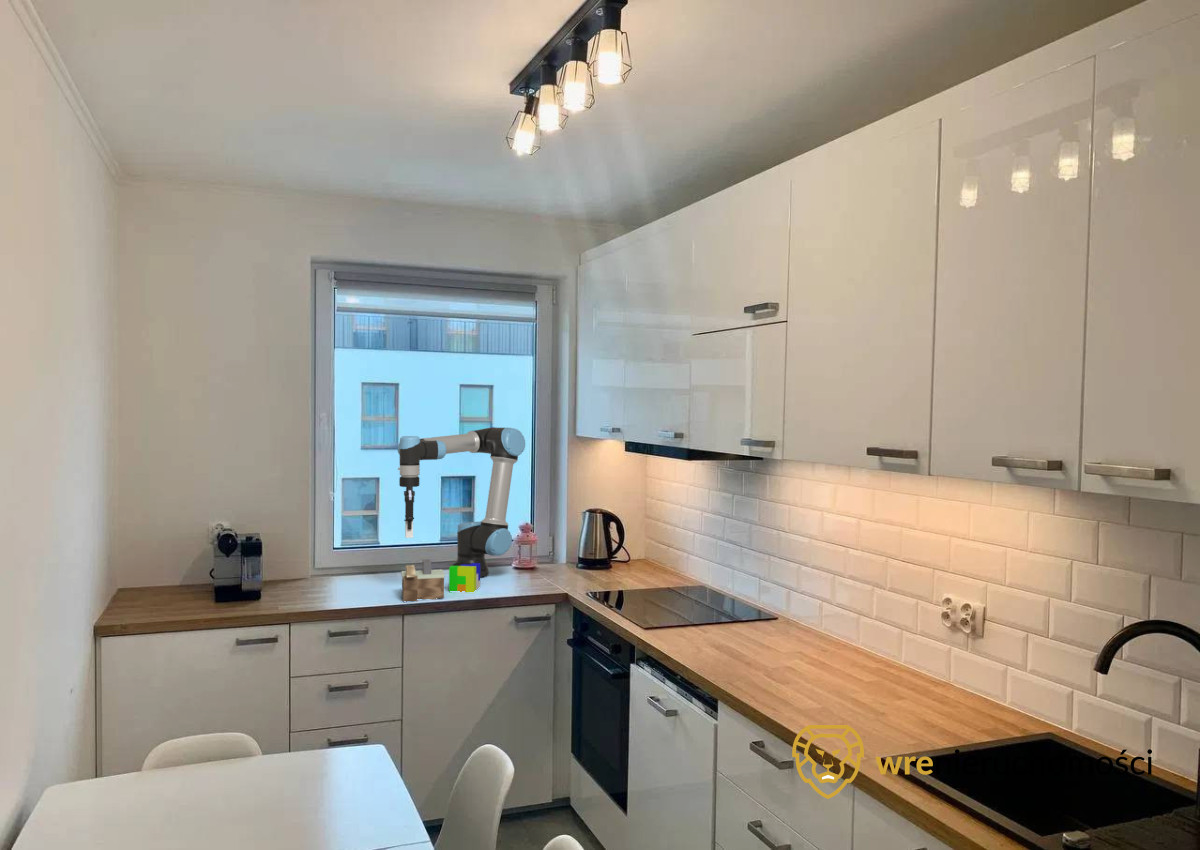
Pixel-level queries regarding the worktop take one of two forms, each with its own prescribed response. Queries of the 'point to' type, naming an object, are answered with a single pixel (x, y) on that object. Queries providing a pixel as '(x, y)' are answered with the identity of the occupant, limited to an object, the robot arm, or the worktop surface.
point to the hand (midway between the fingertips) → (409, 537)
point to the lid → (427, 572)
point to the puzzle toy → (464, 577)
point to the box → (422, 588)
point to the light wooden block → (410, 571)
